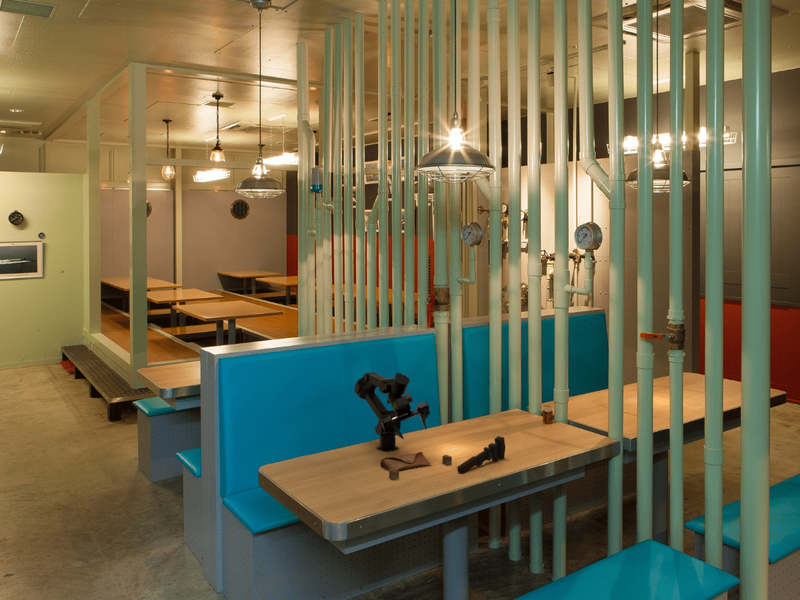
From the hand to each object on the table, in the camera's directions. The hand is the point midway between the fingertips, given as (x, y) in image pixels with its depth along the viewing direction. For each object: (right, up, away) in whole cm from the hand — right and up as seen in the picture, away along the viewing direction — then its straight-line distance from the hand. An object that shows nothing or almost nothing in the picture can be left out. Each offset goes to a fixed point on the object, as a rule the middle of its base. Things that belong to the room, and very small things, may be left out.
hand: (414, 433), depth 241 cm
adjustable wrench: (+25, -13, +1) cm, 28 cm away
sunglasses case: (-3, -13, 0) cm, 13 cm away
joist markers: (+2, -13, -5) cm, 14 cm away
